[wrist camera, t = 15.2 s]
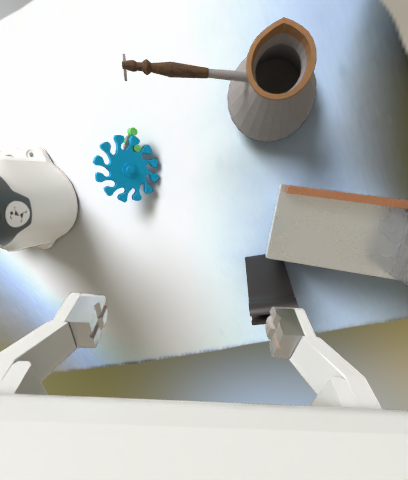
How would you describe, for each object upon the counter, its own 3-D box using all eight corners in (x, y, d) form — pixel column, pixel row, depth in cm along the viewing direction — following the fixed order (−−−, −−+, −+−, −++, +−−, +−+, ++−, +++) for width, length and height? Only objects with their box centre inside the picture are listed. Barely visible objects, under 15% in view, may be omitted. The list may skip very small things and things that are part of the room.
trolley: (259, 245, 40) (268, 290, 25) (272, 182, 37) (290, 186, 22) (354, 261, 38) (429, 320, 23) (374, 195, 36) (478, 210, 20)
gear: (152, 208, 40) (88, 195, 34) (139, 202, 45) (80, 189, 38) (168, 141, 38) (104, 114, 32) (153, 142, 43) (94, 118, 37)
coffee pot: (315, 52, 32) (370, -45, 18) (305, 143, 35) (346, 121, 21) (164, 63, 36) (109, -11, 22) (166, 145, 39) (120, 128, 25)
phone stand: (288, 299, 42) (304, 346, 31) (253, 303, 43) (256, 349, 32) (281, 251, 40) (294, 281, 29) (245, 256, 41) (244, 287, 30)
